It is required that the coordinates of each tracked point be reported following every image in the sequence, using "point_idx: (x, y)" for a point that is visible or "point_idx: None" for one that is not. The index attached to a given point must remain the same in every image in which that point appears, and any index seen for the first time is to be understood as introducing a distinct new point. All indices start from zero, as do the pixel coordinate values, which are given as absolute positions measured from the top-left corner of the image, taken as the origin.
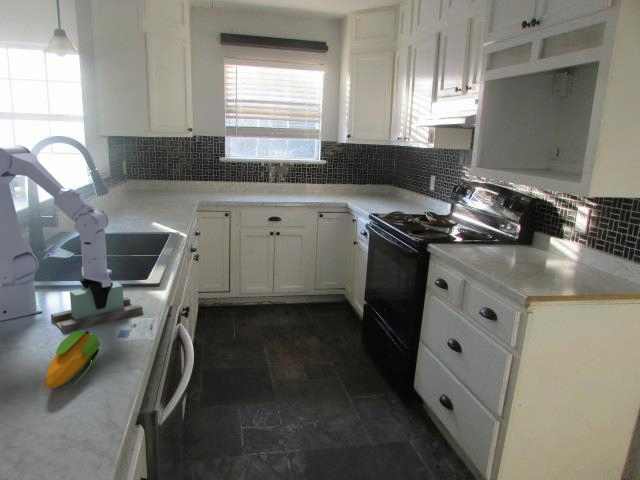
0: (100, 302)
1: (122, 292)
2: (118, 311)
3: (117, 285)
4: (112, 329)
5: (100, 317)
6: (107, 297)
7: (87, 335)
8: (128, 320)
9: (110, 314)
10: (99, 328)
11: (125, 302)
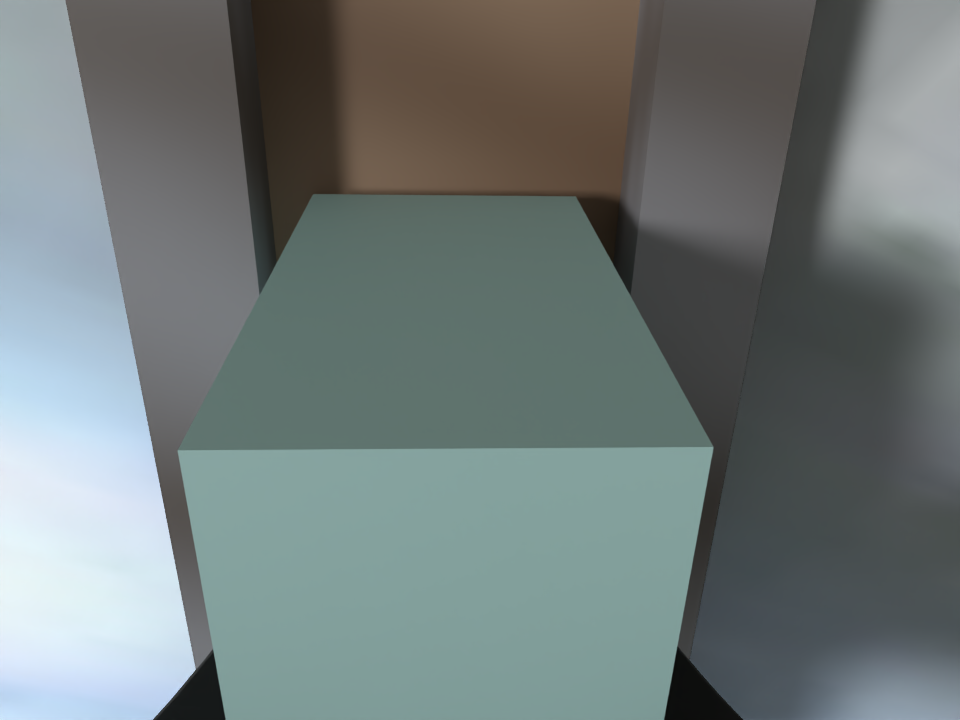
0: None
1: (656, 352)
2: (706, 357)
3: (572, 545)
4: (940, 499)
5: (698, 586)
6: (693, 666)
7: None
8: (865, 249)
9: (721, 479)
10: (794, 581)
11: (237, 8)
